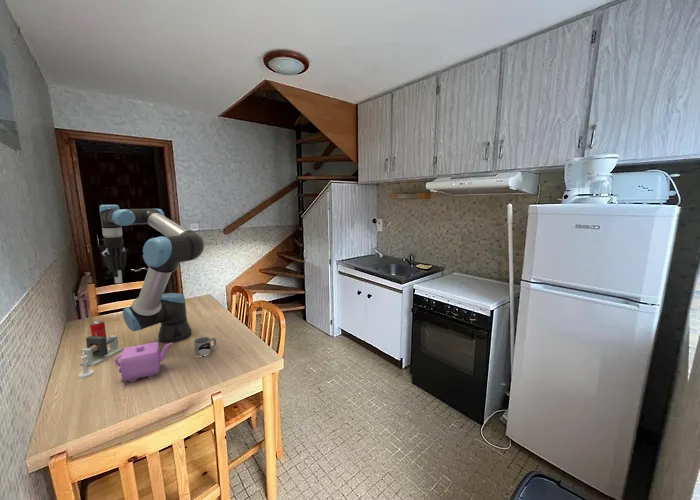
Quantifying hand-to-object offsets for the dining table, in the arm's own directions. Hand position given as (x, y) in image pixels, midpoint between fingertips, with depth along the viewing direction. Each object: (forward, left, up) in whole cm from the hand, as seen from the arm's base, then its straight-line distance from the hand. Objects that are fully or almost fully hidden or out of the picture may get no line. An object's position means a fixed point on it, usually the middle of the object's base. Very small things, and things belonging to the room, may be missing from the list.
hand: (118, 282), depth 147 cm
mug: (-50, +9, -30) cm, 59 cm away
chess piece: (-13, +32, -30) cm, 45 cm away
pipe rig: (-7, +19, -29) cm, 36 cm away
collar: (-7, +21, -27) cm, 35 cm away
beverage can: (+5, +9, -30) cm, 31 cm away
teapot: (-36, +28, -30) cm, 55 cm away
